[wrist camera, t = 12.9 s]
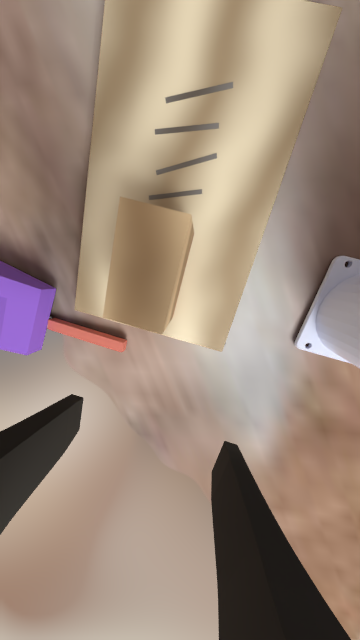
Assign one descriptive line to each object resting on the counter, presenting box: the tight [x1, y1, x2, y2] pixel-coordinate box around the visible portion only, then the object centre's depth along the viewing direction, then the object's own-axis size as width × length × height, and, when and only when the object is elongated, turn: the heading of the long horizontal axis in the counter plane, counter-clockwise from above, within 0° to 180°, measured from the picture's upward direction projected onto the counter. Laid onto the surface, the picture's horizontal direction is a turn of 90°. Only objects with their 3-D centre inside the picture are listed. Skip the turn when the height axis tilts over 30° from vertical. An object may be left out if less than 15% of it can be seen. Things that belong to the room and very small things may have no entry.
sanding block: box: [103, 197, 194, 334], centre depth 13 cm, size 4×7×4 cm, turn 166°
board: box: [75, 0, 342, 352], centre depth 14 cm, size 14×22×1 cm, turn 166°
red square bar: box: [47, 318, 127, 352], centre depth 18 cm, size 9×1×1 cm, turn 77°
